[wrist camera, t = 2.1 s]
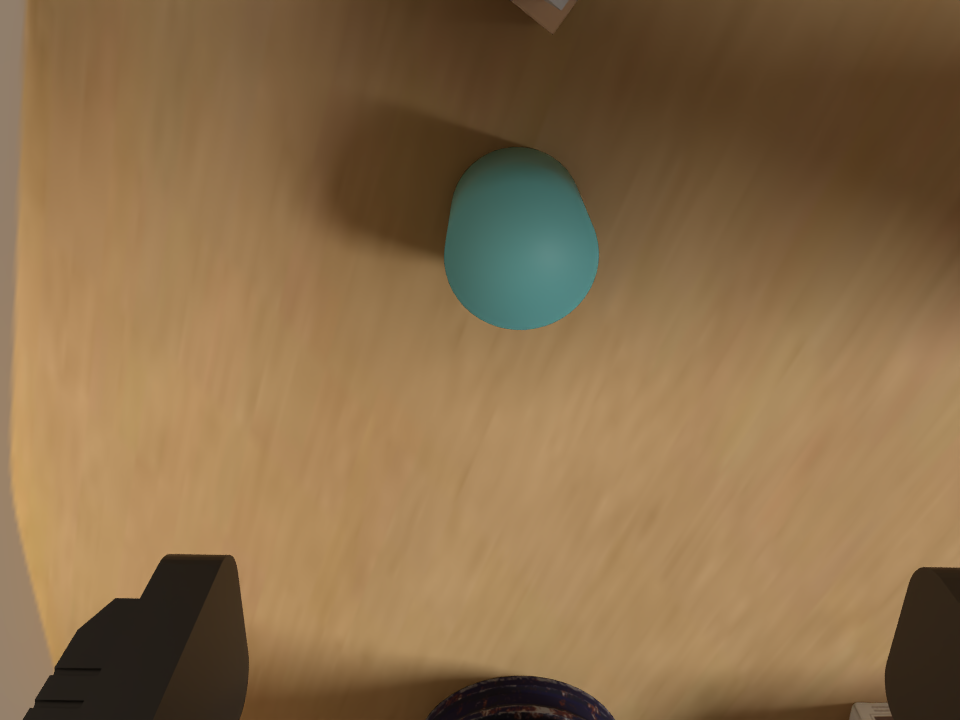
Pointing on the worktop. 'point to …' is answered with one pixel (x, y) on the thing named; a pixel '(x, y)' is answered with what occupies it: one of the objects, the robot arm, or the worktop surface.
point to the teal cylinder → (519, 240)
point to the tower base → (545, 12)
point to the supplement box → (870, 711)
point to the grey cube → (557, 3)
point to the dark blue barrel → (520, 701)
